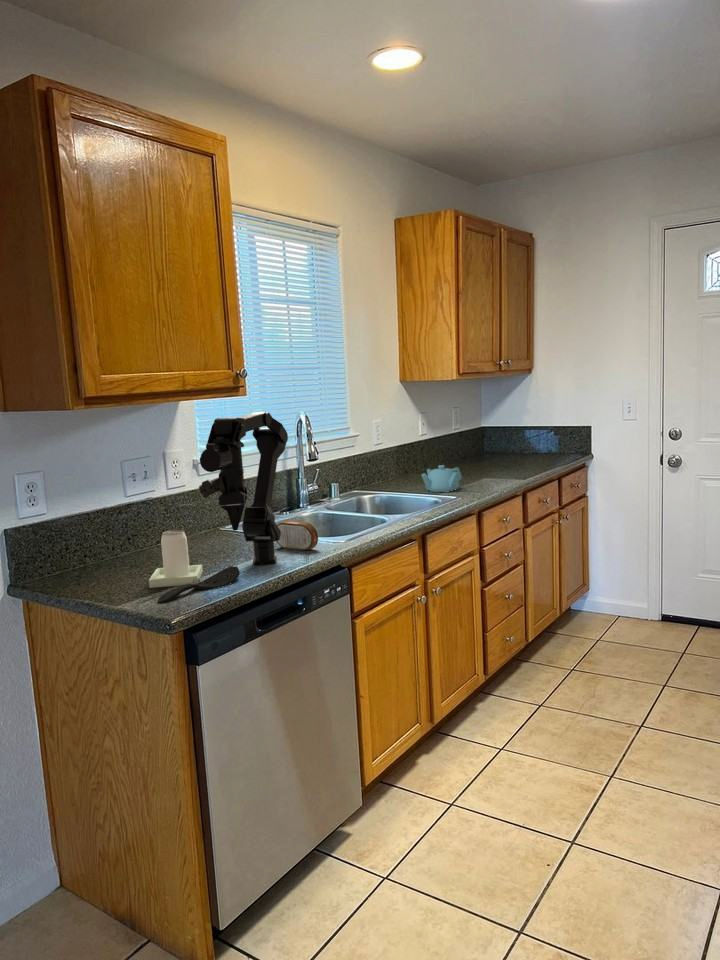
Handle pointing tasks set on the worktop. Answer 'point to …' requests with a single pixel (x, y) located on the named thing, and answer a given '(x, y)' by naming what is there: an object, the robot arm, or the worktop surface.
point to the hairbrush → (205, 583)
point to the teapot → (442, 479)
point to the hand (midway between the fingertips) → (236, 526)
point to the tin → (297, 535)
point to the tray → (161, 581)
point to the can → (175, 554)
